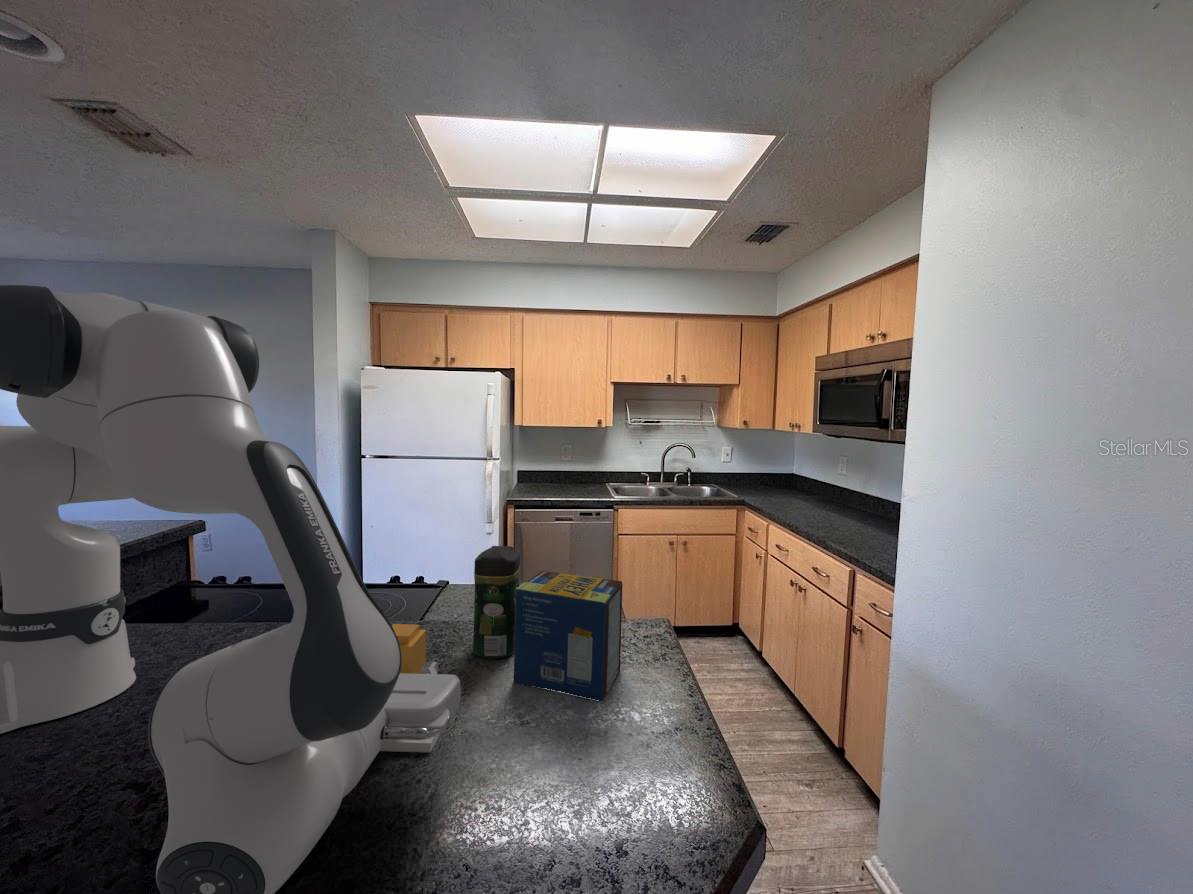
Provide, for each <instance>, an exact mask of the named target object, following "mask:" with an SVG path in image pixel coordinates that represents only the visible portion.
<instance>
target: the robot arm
mask: <svg viewBox="0 0 1193 894" xmlns="http://www.w3.org/2000/svg"><path fill="white" fill-rule="evenodd" d="M257 346H258V345H257V344H256V342H255V340H254V338H253V337H252V336H251V334H250V332H248V331H247V329H245V328H244V326H241V325H239V324H237V323H234V322H232V321H230V320H227V319H224V318H221V317H218V316H214V315H208V316H204V315H201V314H197V313H194V312H190V311H187V310H183V309H180V308H175V307H170V306H166V305H163V304H157V303H153V302H149V301H143V300H136V301H135V300H130V299H128V298H125V297H121V296H118V295H116V294H112V293H111V294H110V293H106V292H97V291H96V292H95V291H88V292H87V291H83V292H77V293H76V292H67V291H54V290H53V291H52V290H50V288H49V287H47V286H43V285H42V286H40V285H25V284H2V285H0V390H1V391H5V392H10V393H13V394H17V395H16V396H17V397H16V402H15V403H16V407H17V410H18V412H19V414H20V416H21V417H22V419H23V420H24V422H26V423H27V424H28V425H0V579H1V588H2V589H1V590H2V608H1V609H0V734H4V733H7V732H10V731H14V730H17V729H20V728H22V727H26V726H27V727H28V726H32V725H34V724H39V723H43V722H48V721H52V720H56V719H59V718H60V719H61V718H63V717H67V716H70V715H73V714H76V713H79V712H82V711H85V710H88V709H90V708H93V707H96V706H99V704H102V703H105V702H107V701H108V700H110V699H112V698H114V697H116V696H118V695H120V694H121V693H123V692H125V691H126V690H127V689H129V688H130V687H131V686H132V685H134V683H135V681H136V680H137V675H136V672H135V670H134V668H135V666H136V660H135V658H134V657H132V656H131V652H130V647H129V646H130V644H129V640H128V639H129V638H128V633H127V626H126V622H125V620H124V619H123V616H124V615H125V613H126V606H125V604H126V597H125V591H124V590H123V589H122V588H121V547H120V544H119V541H117V539H116V538H115V537H114V536H113V535H112V534H110V533H109V532H106V531H104V530H100V529H96V528H94V527H89V526H85V525H81V524H76V523H71V522H68V521H65V520H63V519H62V518H61V517H60V514H59V507H60V506H64V505H68V504H69V505H71V504H81V503H94V502H107V501H118V500H128V499H129V500H130V499H134V500H136V501H138V502H140V503H141V504H144V505H146V506H149V507H151V508H154V509H157V510H162V511H165V512H171V513H179V514H193V515H194V514H197V515H198V514H199V515H203V514H205V515H206V514H207V515H216V514H217V515H220V514H222V515H223V514H237V515H240V516H243V517H245V518H246V519H248V520H250V522H252V523H253V524H254V525H255V527H257V528H258V530H259V531H260V532H261V535H262V537H263V539H264V541H265V544H266V546H267V548H268V550H269V553H270V555H271V558H272V560H273V562H274V564H275V566H276V569H277V571H278V573H279V576H280V578H281V580H282V583H283V585H284V587H285V589H286V591H287V594H288V596H289V599H290V601H291V604H292V607H293V615H292V618H291V622H290V623H287V624H284V625H282V626H279V627H277V628H273V629H272V630H270V631H266V632H265V633H262V634H260V635H257V636H254V637H252V638H248V639H245V640H241V641H239V642H237V643H234V644H232V645H229V646H227V647H223V648H222V649H219V650H216V651H214V652H212V653H210V654H208V655H205V656H202V657H200V658H197V659H194V660H191V661H190V662H188V663H186V664H185V665H184V666H182V667H181V668H179V669H178V670H176V671H175V673H173V675H172V676H171V677H170V678H169V679H168V680H167V681H166V683H165V684H164V685H163V687H162V688H161V690H160V692H159V694H158V695H157V697H156V699H155V702H154V703H153V706H152V709H151V710H150V711H151V712H150V715H149V718H148V725H147V738H148V739H147V741H148V745H149V751H150V753H151V755H152V758H153V759H154V762H155V764H156V765H157V767H158V769H159V770H160V772H161V774H162V775H163V777H164V779H165V785H166V794H167V803H168V804H167V805H168V823H167V829H166V835H165V838H164V842H163V844H162V848H161V851H160V853H159V856H158V858H157V859H158V860H157V863H156V868H155V869H156V870H155V881H156V885H157V886H156V887H157V889H158V891H159V893H160V894H276V893H277V891H278V890H279V889H280V888H281V887H282V886H283V885H284V884H285V883H286V882H287V880H289V879H290V877H291V876H292V875H293V874H294V873H295V871H296V870H297V869H298V868H299V867H300V865H302V863H303V862H304V860H305V859H306V858H307V857H308V855H310V853H311V851H312V850H313V849H314V847H315V846H316V845H317V843H318V842H319V840H321V838H322V836H323V835H324V833H325V832H326V830H327V829H328V827H329V826H330V825H331V823H332V821H333V820H334V818H335V817H336V815H337V814H338V811H339V808H340V806H341V803H342V801H343V798H344V797H346V796H347V795H348V794H349V793H350V792H351V791H352V790H353V789H354V788H356V786H357V785H358V784H359V782H360V780H361V779H362V778H363V776H364V774H365V773H366V771H368V769H369V767H370V766H371V764H372V762H374V759H375V758H376V757H377V755H378V754H379V752H381V751H380V749H381V748H382V746H383V744H384V742H385V740H386V739H387V740H426V739H430V738H432V737H434V736H436V735H437V734H440V735H441V734H442V733H443V732H444V731H445V730H446V729H447V727H448V725H449V722H450V721H451V719H452V718H453V716H454V715H455V714H456V713H457V711H458V709H459V707H460V703H461V698H462V695H461V694H462V684H461V679H460V678H459V677H458V676H457V675H456V674H443V673H442V674H441V673H438V672H439V670H438V669H439V668H438V667H439V663H438V661H426V662H425V664H424V665H423V667H422V673H423V674H409V673H400V671H401V665H402V656H401V649H400V644H399V641H398V638H397V636H396V633H395V631H394V629H393V627H392V623H391V622H390V620H389V619H388V617H387V616H386V614H385V613H384V611H382V609H381V608H380V606H379V605H378V603H377V602H376V600H375V599H374V598H373V596H372V595H371V593H370V591H369V590H368V587H367V586H366V583H365V582H364V580H363V578H362V576H361V574H360V572H359V569H358V568H357V566H356V564H355V560H354V559H353V557H352V554H351V553H350V551H349V549H348V547H347V545H346V542H345V540H344V538H343V536H342V534H341V532H340V530H339V527H338V526H337V523H336V521H335V519H334V517H333V515H332V512H331V511H330V508H329V506H328V505H327V502H326V501H325V499H324V497H323V494H322V492H321V491H320V489H319V486H318V485H317V483H316V482H315V479H314V477H313V476H312V473H311V472H310V471H309V469H308V467H307V466H306V465H305V463H304V462H303V460H302V458H300V456H299V455H297V453H296V452H295V451H294V450H292V449H291V448H290V447H289V446H286V445H285V444H283V443H279V442H276V441H271V440H269V439H268V437H266V435H265V434H264V432H263V431H262V429H261V428H260V426H259V423H258V420H257V417H256V413H255V410H254V406H253V402H252V397H251V396H250V393H251V392H252V390H254V388H255V386H256V384H257V381H258V377H259V373H260V372H259V371H260V355H259V349H258V347H257Z"/></svg>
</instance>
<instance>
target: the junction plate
mask: <svg viewBox="0 0 1193 894" xmlns="http://www.w3.org/2000/svg"><path fill="white" fill-rule="evenodd" d="M440 736H441V733H440V734H437V735H436V736H434V737H432V738H430V739H426V740H387V739H386V740H385V742H384V744H383V746H382V748H381V749H380V751H379V752H404V753H405V752H406V753H431V752H432V750H433V749H434V747H435V745H436V743H437V741H438V739H439V737H440Z"/></svg>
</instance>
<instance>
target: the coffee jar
mask: <svg viewBox="0 0 1193 894" xmlns="http://www.w3.org/2000/svg"><path fill="white" fill-rule="evenodd" d="M520 566H521V554H520V553H519V551H518V550H517V549H516V548H515V547H513V546H512V545H511V546H510V545H509V546H508V545H492V546H491V547H489V548H488V549H485V550H484V551H481V552H480V553H479V554H478V555H477V557H476V558H475V559H474V569H473V570H474V571H473V574H474V575H473V576H474V577H473V578H474V604H473V605H474V608H473V610H474V613H473V614H474V615H473V636H472V638H473V639H472V652H473V654H474V655H475V656H478V657H481V658H484V659H488V660H495V659H496V660H497V659H500V658H505V657H509V656H511V655H512V654H514V646H515V612H516V588H517V587H519V586H520V575H521V573H520V572H521V567H520Z"/></svg>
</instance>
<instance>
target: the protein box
mask: <svg viewBox="0 0 1193 894" xmlns="http://www.w3.org/2000/svg"><path fill="white" fill-rule="evenodd" d="M622 603H623V581H621V580H614V579H605V578H599V577H590V576H583V575H575V574H568V573H561V572H554V571H553V572H552V571H545V570H542V571H541V570H540V572H538V573H537V574H536V575H534V576H533V577H531V578H530V579H529V580H526V581H525V582H523V583H522V584H519V587H517V588H516V612H515V646H514V651H513V683H514V684H517V683H518V684H519V685H522V684H524V685H523V686H526V685H528V686H527V687H531V686H535V687H540V688H547V689H550V690H551V689H552V690H555V691H561V692H565V693H569V694H573V695H577V696H582V697H586V698H591V699H595V700H599V701H604V700H605V698H606V697H607V695H608V693H609V691H610V689H611V687H612V686H611V685H613V684H614V682H615V680H616V678H617V676H618V674H619V673H618V672H620V671H621V654H622V653H621V651H622V650H621V647H622V617H623V615H622V614H623V612H622V611H623V604H622ZM619 670H620V671H619ZM616 675H617V676H616ZM615 677H616V678H615ZM614 679H615V680H614ZM613 681H614V682H613ZM612 683H613V684H612ZM535 687H534V688H535ZM540 688H539V689H540ZM609 688H610V689H609ZM608 690H609V691H608ZM607 692H608V693H607ZM606 694H607V695H606ZM605 696H606V697H605ZM604 697H605V698H604ZM603 699H604V700H603Z"/></svg>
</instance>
